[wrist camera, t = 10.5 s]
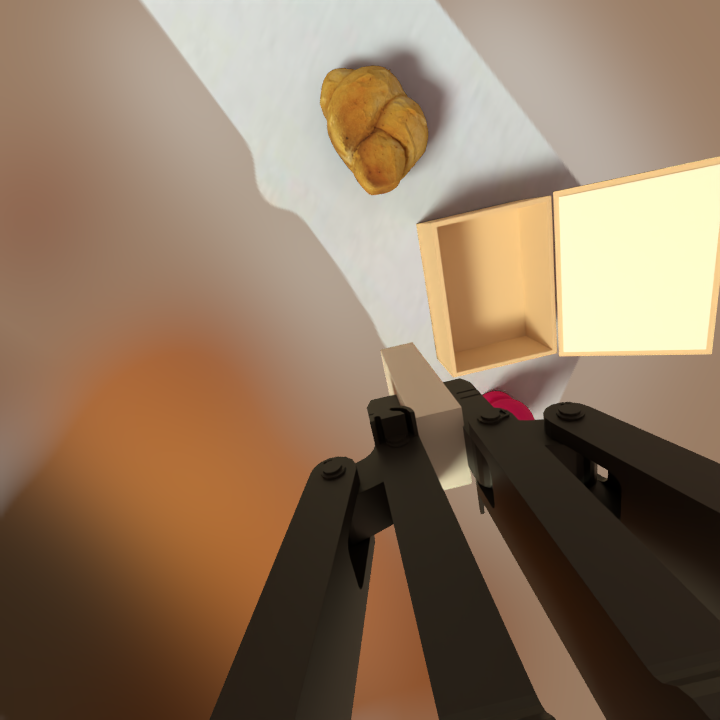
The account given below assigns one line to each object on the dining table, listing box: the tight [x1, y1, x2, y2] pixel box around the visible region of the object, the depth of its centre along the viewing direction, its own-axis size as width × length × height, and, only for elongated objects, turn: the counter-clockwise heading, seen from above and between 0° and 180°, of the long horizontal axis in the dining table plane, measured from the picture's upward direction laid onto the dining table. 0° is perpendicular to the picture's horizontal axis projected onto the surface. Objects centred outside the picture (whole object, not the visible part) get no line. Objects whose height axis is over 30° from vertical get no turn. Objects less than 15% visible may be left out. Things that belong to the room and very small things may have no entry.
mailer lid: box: [553, 157, 720, 356], centre depth 39 cm, size 19×14×1 cm
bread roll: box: [320, 66, 428, 195], centre depth 39 cm, size 13×10×8 cm
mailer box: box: [416, 196, 557, 377], centre depth 46 cm, size 18×13×7 cm
